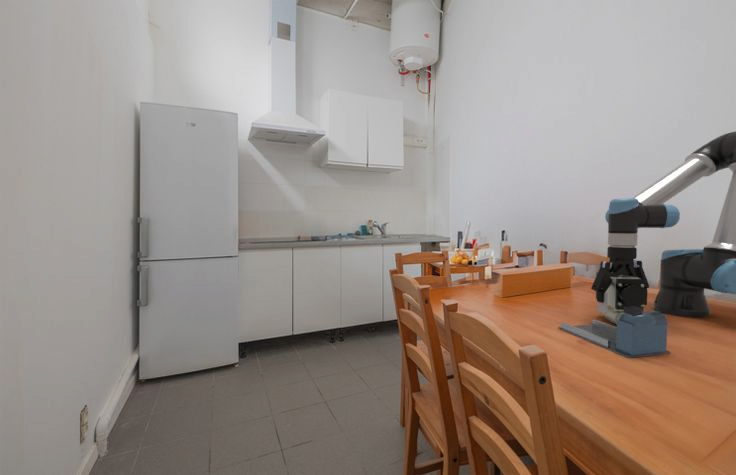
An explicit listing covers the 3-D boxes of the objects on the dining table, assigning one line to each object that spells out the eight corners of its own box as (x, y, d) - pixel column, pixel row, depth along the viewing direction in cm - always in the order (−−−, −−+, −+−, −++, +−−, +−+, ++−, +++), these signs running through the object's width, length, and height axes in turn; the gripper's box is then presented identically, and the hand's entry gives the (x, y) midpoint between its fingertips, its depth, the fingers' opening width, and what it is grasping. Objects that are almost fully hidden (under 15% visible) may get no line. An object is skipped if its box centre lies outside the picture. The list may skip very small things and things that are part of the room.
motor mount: (592, 325, 107) (593, 288, 106) (670, 353, 84) (672, 307, 84) (558, 328, 104) (558, 291, 104) (628, 358, 82) (630, 310, 81)
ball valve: (652, 334, 98) (654, 275, 97) (619, 332, 100) (621, 274, 99) (619, 316, 116) (620, 266, 115) (592, 315, 118) (593, 266, 117)
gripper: (641, 244, 113) (639, 305, 114) (579, 246, 108) (577, 310, 109) (665, 246, 105) (662, 311, 106) (600, 248, 100) (597, 316, 101)
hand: (619, 311), depth 108 cm, fingers open, 13 cm apart
